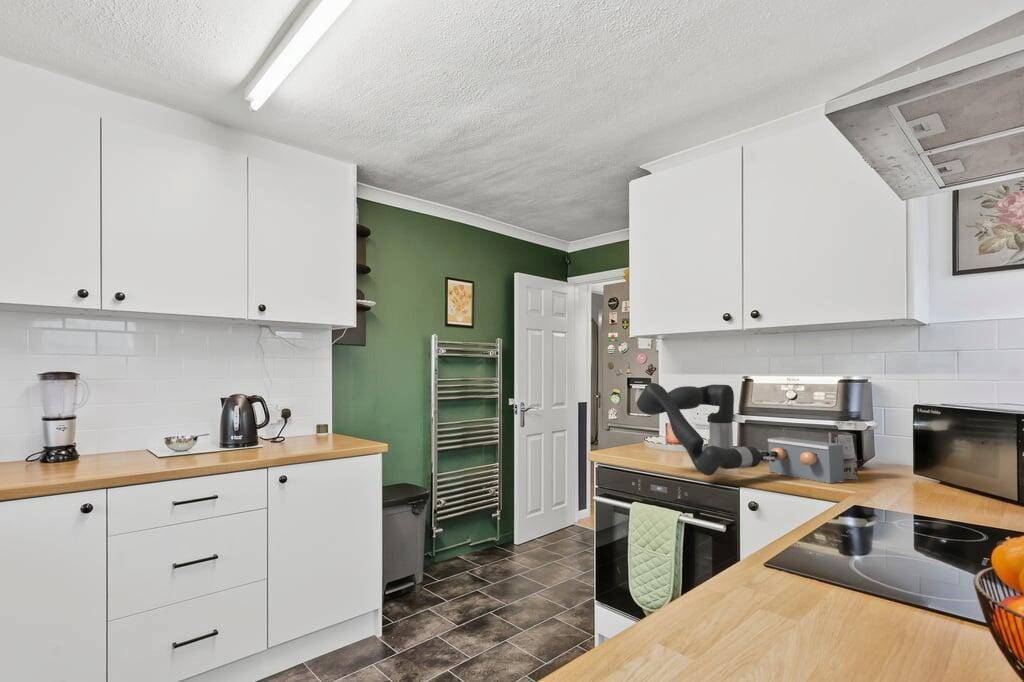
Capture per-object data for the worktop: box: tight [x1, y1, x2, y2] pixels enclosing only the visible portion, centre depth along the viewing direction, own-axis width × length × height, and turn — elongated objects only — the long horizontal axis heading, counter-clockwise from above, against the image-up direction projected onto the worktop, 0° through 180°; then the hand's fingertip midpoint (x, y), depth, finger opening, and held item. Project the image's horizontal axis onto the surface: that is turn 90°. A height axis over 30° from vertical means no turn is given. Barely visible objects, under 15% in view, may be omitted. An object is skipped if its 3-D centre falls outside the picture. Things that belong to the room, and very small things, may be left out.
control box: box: [767, 436, 845, 484], centre depth 200 cm, size 24×8×13 cm, turn 27°
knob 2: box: [800, 452, 817, 465], centre depth 194 cm, size 4×12×4 cm, turn 117°
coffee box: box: [828, 431, 859, 480], centre depth 200 cm, size 9×6×16 cm
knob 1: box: [771, 448, 787, 460], centre depth 205 cm, size 4×12×4 cm, turn 117°
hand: (775, 454), depth 202 cm, fingers closed
